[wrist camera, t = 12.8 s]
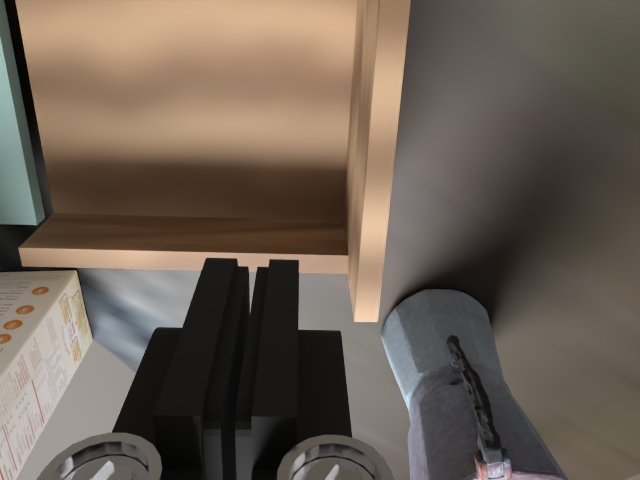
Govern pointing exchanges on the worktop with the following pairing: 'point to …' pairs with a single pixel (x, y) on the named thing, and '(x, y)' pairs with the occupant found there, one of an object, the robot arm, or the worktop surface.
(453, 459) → the moka pot
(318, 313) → the worktop surface
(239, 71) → the shelf
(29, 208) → the tailgate
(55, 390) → the coffeecake box
